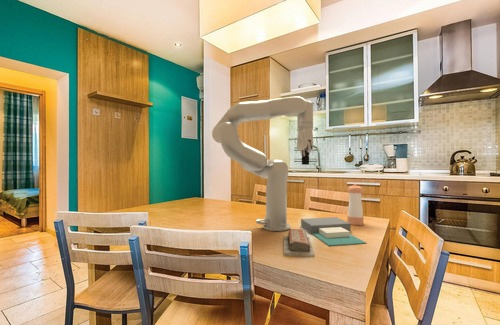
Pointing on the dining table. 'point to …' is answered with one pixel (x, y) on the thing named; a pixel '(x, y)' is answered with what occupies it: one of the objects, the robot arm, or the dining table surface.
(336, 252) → the dining table surface
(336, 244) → the mat
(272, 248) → the dining table surface
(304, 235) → the packaged product
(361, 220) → the pepper shaker
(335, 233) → the cream flat block
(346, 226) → the block
